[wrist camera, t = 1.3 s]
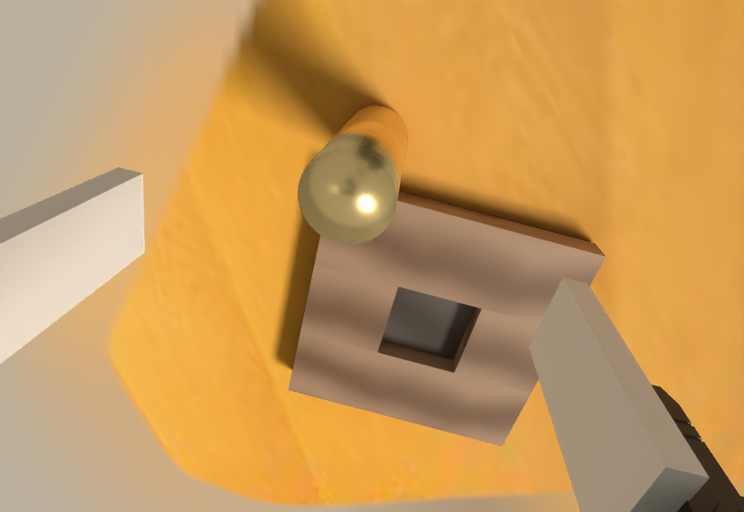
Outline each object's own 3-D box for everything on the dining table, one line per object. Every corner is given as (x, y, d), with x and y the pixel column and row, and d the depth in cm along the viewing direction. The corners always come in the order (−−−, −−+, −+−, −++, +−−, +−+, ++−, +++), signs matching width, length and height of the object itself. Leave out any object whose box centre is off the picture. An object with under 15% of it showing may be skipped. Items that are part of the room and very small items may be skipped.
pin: (353, 97, 28) (306, 136, 17) (415, 114, 28) (408, 164, 17) (340, 159, 29) (290, 230, 19) (398, 175, 30) (382, 255, 19)
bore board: (336, 174, 30) (331, 182, 28) (595, 243, 30) (605, 256, 28) (294, 373, 38) (288, 390, 36) (498, 427, 38) (501, 446, 36)
